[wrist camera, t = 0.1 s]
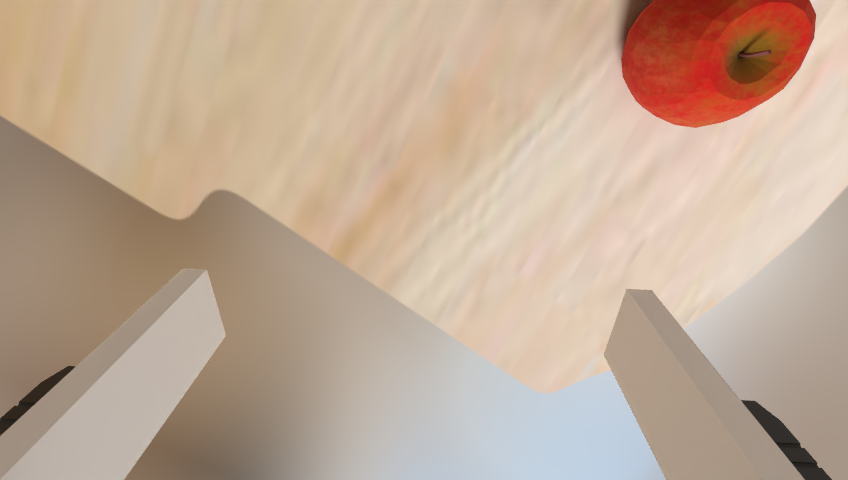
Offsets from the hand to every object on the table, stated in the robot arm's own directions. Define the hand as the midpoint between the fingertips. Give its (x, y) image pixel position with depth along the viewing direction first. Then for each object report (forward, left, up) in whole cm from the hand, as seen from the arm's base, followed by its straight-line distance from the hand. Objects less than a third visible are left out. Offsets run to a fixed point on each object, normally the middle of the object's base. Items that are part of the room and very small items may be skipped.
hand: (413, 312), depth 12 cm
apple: (-7, +21, -28) cm, 36 cm away
